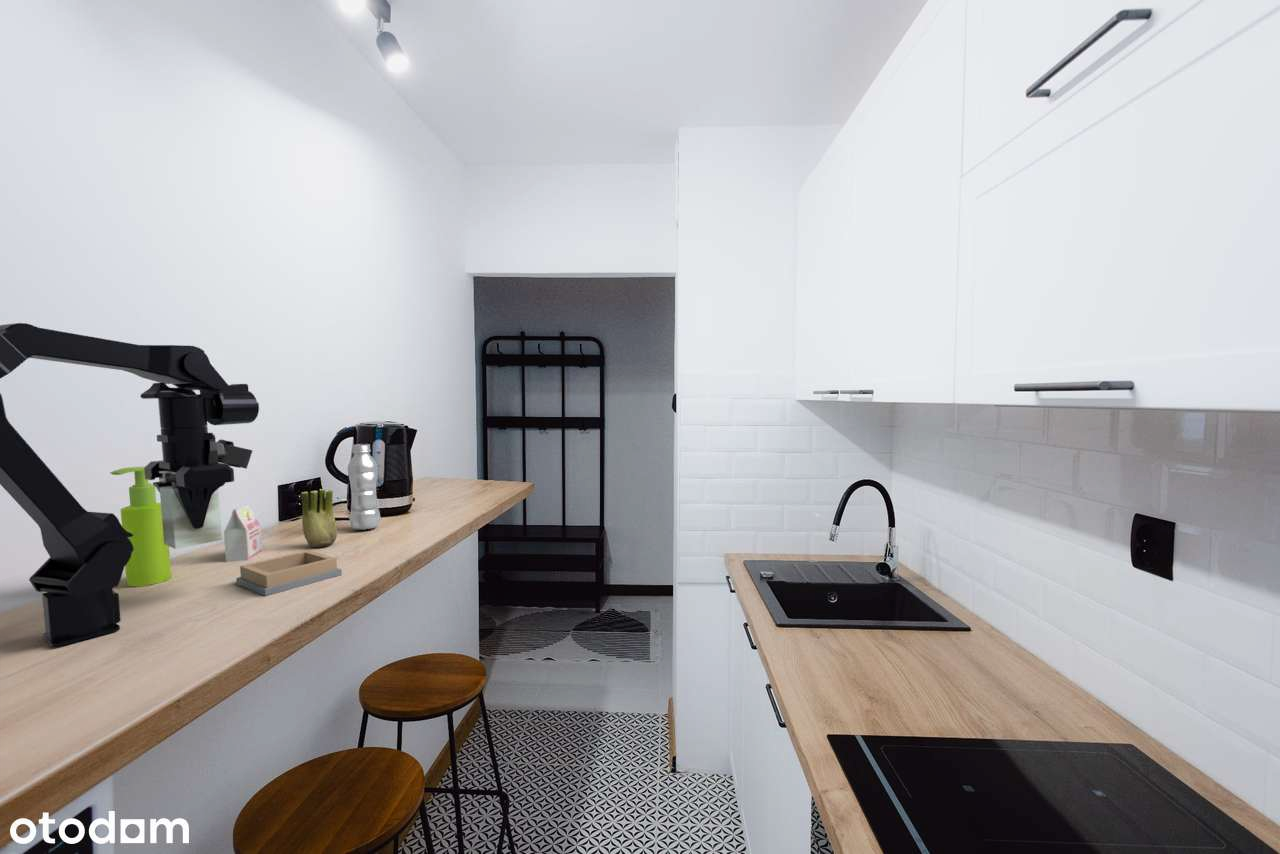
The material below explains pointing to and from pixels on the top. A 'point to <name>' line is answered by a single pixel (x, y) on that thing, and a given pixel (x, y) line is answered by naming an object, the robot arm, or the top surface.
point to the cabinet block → (179, 526)
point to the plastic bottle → (363, 489)
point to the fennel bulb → (318, 518)
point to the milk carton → (242, 535)
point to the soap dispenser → (144, 533)
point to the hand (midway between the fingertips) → (192, 526)
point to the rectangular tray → (287, 572)
